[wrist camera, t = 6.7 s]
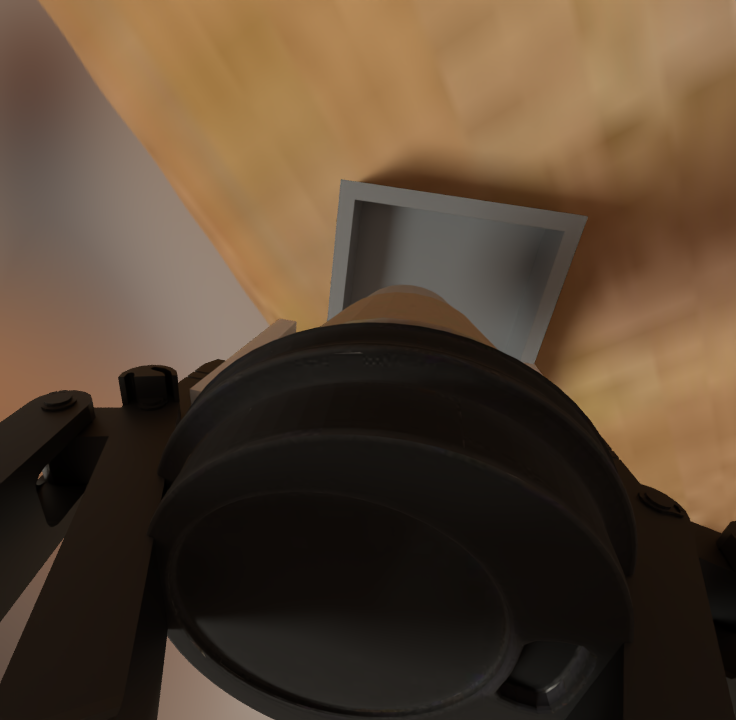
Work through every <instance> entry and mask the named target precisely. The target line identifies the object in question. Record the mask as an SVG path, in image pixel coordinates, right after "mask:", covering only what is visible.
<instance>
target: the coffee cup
mask: <svg viewBox="0 0 736 720" xmlns="http://www.w3.org/2000/svg"><path fill="white" fill-rule="evenodd" d="M157 475H158V476H160V477H163V478H165V481H166V490H167V492H166V494H165V495H164V497H163V499H162V500H161V502H160V503H159V505H158V507H157V509H156V511H155V513H154V515H153V517H152V519H151V521H150V524H149V527H148V530H147V533H146V535H147V536H149V537H153V538H154V542H155V549H156V555H157V562H158V568H159V575H160V581H161V588H162V594H163V601H164V607H165V614H166V620H167V627H168V632H167V636H168V638H169V639H170V641H171V642H172V643H173V644H174V645H175V647H176V648H177V649H178V650H179V652H180V653H181V654H182V655H183V656H184V657H185V658H186V659H187V660H188V661H189V662H190V663H191V664H192V665H193V666H194V667H195V668H196V669H197V670H198V671H199V672H201V673H202V674H203V675H204V676H205V677H207V678H208V679H209V680H210V681H211V682H213V683H214V684H215V685H217V686H218V687H219V688H221V689H222V690H224V691H225V692H226V693H228V694H229V695H231V696H233V697H234V698H236V699H237V700H239V701H241V702H242V703H244V704H246V705H247V706H249V707H251V708H252V709H254V710H256V711H258V712H260V713H262V714H264V715H266V716H268V717H270V718H272V719H275V720H565V719H566V718H567V716H568V715H569V714H570V712H571V711H572V710H573V708H574V707H575V706H576V704H577V703H578V702H579V701H580V699H581V698H582V697H583V695H584V694H585V693H586V691H587V690H588V689H589V687H590V686H591V685H592V683H593V682H594V681H595V679H596V678H597V677H598V676H599V674H600V673H601V672H602V670H603V669H604V668H605V666H606V665H607V664H608V662H609V661H610V660H611V658H612V657H613V656H614V655H615V653H616V652H617V651H618V649H619V648H620V647H621V645H622V644H623V643H624V642H627V643H632V642H633V640H634V615H633V605H632V599H631V595H630V591H629V587H628V584H627V581H626V578H625V575H628V576H630V575H633V574H634V573H635V568H636V563H637V549H638V539H637V528H636V521H635V517H634V512H633V508H632V504H631V502H630V499H629V496H628V494H627V491H626V488H625V486H624V484H623V482H622V480H621V478H620V477H619V475H618V472H617V469H616V466H615V464H614V461H613V458H612V456H611V454H610V452H609V450H608V448H607V446H606V444H605V442H604V440H603V439H602V437H601V435H600V434H599V432H598V431H597V430H596V428H595V427H594V425H593V424H592V422H591V421H590V419H589V418H588V417H587V416H586V415H585V414H584V412H583V411H582V410H581V409H580V408H579V407H578V406H577V404H576V403H575V402H574V401H573V400H572V399H570V398H569V397H568V396H567V395H566V394H565V393H564V392H563V391H562V390H561V389H560V388H559V387H557V386H556V385H555V384H553V383H552V382H551V381H549V380H548V379H547V378H545V377H544V376H543V375H542V374H540V373H539V372H537V371H536V370H534V369H532V368H531V367H529V366H528V365H526V364H524V363H523V362H521V361H520V360H518V359H516V358H514V357H512V356H510V355H508V354H506V353H504V352H502V351H500V350H498V349H497V348H496V347H495V346H494V345H493V344H492V343H491V342H490V341H489V340H488V339H487V338H486V337H485V336H484V335H483V334H482V333H481V332H480V331H479V330H478V329H477V328H476V327H475V326H474V325H473V324H472V323H471V321H470V320H469V319H468V318H467V317H466V316H465V315H464V314H462V313H461V312H459V311H458V310H456V309H455V308H453V307H452V306H450V305H449V304H448V303H447V302H446V301H445V300H444V299H443V298H442V297H440V296H439V295H437V294H436V293H435V292H432V291H430V290H428V289H425V288H422V287H418V286H414V285H394V286H388V287H385V288H382V289H379V290H378V291H376V292H374V293H372V294H371V295H369V296H368V297H367V298H363V299H361V300H359V301H357V302H356V303H354V304H352V305H350V306H349V307H347V308H346V309H344V310H343V311H341V312H340V313H339V314H337V315H336V316H334V317H333V318H332V319H330V320H329V321H327V322H326V323H325V324H323V325H322V326H320V327H317V328H313V329H309V330H305V331H301V332H297V333H293V334H290V335H287V336H284V337H282V338H279V339H276V340H273V341H271V342H269V343H267V344H264V345H262V346H260V347H258V348H256V349H254V350H252V351H250V352H249V353H247V354H245V355H244V356H242V357H240V358H239V359H237V360H235V361H234V362H233V363H231V364H230V365H229V366H228V367H226V368H225V369H224V370H222V371H221V372H220V373H219V374H218V375H217V376H216V377H215V378H213V379H212V380H211V381H210V382H209V383H208V384H207V385H206V387H205V388H204V389H203V390H202V391H201V393H200V394H199V395H198V396H197V397H196V399H195V400H194V402H193V403H192V405H191V407H190V408H189V410H188V411H187V413H186V415H185V416H184V417H183V419H182V420H181V421H180V422H179V424H178V425H177V427H176V428H175V430H174V431H173V433H172V434H171V436H170V438H169V440H168V442H167V444H166V446H165V448H164V450H163V453H162V456H161V459H160V462H159V465H158V469H157Z"/></svg>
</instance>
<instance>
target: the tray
mask: <svg viewBox="0 0 736 720" xmlns="http://www.w3.org/2000/svg"><path fill="white" fill-rule="evenodd" d="M587 218H588V216H583V215H576V214H570V213H563V212H556V211H549V210H543V209H536V208H529V207H523V206H516V205H509V204H503V203H496V202H489V201H483V200H476V199H469V198H463V197H456V196H449V195H442V194H436V193H429V192H422V191H416V190H409V189H402V188H396V187H389V186H382V185H376V184H369V183H362V182H356V181H349V180H342V179H341V184H340V194H339V205H338V215H337V226H336V236H335V246H334V257H333V267H332V277H331V288H330V298H329V309H328V319H327V321H329V320H330V319H332V318H333V317H334V316H336V315H337V314H339V313H340V312H341V311H343V310H344V309H346V308H347V307H349V306H350V305H352V304H354V303H356V302H357V301H359V300H361V299H363V298H367V297H368V296H369V295H371V294H372V293H374V292H376V291H378V290H379V289H382V288H385V287H388V286H394V285H414V286H418V287H422V288H425V289H428V290H430V291H432V292H435V293H436V294H437V295H439V296H440V297H442V298H443V299H444V300H445V301H446V302H447V303H448V304H449V305H450V306H452V307H453V308H455V309H456V310H458V311H459V312H461V313H462V314H464V315H465V316H466V317H467V318H468V319H469V320H470V321H471V323H472V324H473V325H474V326H475V327H476V328H477V329H478V330H479V331H480V332H481V333H482V334H483V335H484V336H485V337H486V338H487V339H488V340H489V341H490V342H491V343H492V344H493V345H494V346H495V347H496V348H497V349H498V350H500V351H502V352H504V353H506V354H508V355H510V356H512V357H514V358H516V359H518V360H520V361H521V362H524V363H530V364H534V363H535V360H536V357H537V354H538V352H539V349H540V346H541V343H542V341H543V338H544V335H545V333H546V330H547V327H548V324H549V322H550V319H551V316H552V314H553V311H554V308H555V305H556V303H557V300H558V297H559V294H560V292H561V289H562V286H563V284H564V281H565V278H566V275H567V273H568V270H569V267H570V264H571V262H572V259H573V256H574V254H575V251H576V248H577V245H578V243H579V240H580V237H581V235H582V232H583V229H584V226H585V224H586V221H587Z"/></svg>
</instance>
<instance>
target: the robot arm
mask: <svg viewBox="0 0 736 720" xmlns="http://www.w3.org/2000/svg"><path fill="white" fill-rule="evenodd" d="M293 333H296V321H290V320H285V319H278V320H277V321H276V322H275V323H273V324H272V325H271V326H269V327H268V328H267V329H266V330H265V331H263V332H262V333H261V334H259V335H258V336H257V337H255V338H254V339H253V340H252V341H250V342H249V343H248V344H247V345H245V346H244V347H243V348H241V349H240V350H239V351H238V352H236V353H235V354H234V355H233V356H231V357H230V358H229V359H227V360H226V361H225V360H220V359H217V360H214V361H211V362H208V363H205V364H204V365H202V366H201V367H199V368H198V369H197V370H195V372H193V373H191V374H190V375H188V377H186V378H184V379H183V380H181V381H180V382H179V383H178V377H177V372H176V370H174V369H173V368H171V367H167V366H162V365H148V366H140V367H136V368H132V369H130V370H127V371H125V372H123V373H122V374H121V375H120V376H119V377H118V379H119V385H120V391H121V397H122V403H123V406H122V407H121V408H94V407H93V402H92V398H91V395H90V394H88V393H86V392H82V391H76V390H73V391H67V390H63V391H59V392H57V391H56V392H52V393H49V394H47V395H43V396H40V397H38V398H36V399H34V400H32V401H30V402H29V403H27V404H26V405H24V406H23V407H22V408H20V409H19V410H17V411H16V412H14V413H13V414H12V415H10V416H9V417H7V418H6V419H5V420H3V421H2V422H0V622H1V620H2V619H3V618H4V616H5V615H6V614H7V612H8V611H9V610H10V608H11V607H12V606H13V604H14V603H15V602H16V600H17V599H18V598H19V596H20V595H21V594H22V592H23V591H24V590H25V588H26V587H27V586H28V585H29V583H30V582H31V581H32V579H33V578H34V577H35V575H36V574H37V573H38V571H39V570H40V569H41V567H42V566H43V565H44V563H45V562H46V561H47V559H48V558H49V557H50V555H51V554H52V553H53V551H54V550H55V549H56V547H57V546H58V545H59V543H60V542H61V541H62V540H63V538H64V540H63V542H62V545H61V547H60V549H59V551H58V554H57V556H56V558H55V560H54V563H53V565H52V567H51V570H50V572H49V574H48V576H47V578H46V581H45V583H44V585H43V588H42V590H41V592H40V595H39V597H38V599H37V601H36V603H35V606H34V608H33V610H32V613H31V615H30V617H29V619H28V621H27V624H26V626H25V628H24V631H23V633H22V635H21V638H20V640H19V642H18V644H17V647H16V649H15V651H14V653H13V656H12V658H11V660H10V663H9V665H8V667H7V669H6V672H5V674H4V676H3V678H2V680H1V683H0V720H157V715H158V707H159V698H160V690H161V682H162V674H163V665H164V657H165V649H166V641H167V640H166V639H167V632H168V627H167V620H166V614H165V607H164V601H163V594H162V588H161V581H160V575H159V568H158V562H157V555H156V549H155V542H154V538H153V537H149V536H147V535H146V533H147V530H148V527H149V524H150V521H151V519H152V517H153V515H154V513H155V511H156V509H157V507H158V505H159V503H160V502H161V500H162V499H163V497H164V495H165V494H166V492H167V490H166V481H165V478H163V477H160V476H158V475H157V469H158V465H159V462H160V459H161V456H162V453H163V450H164V448H165V446H166V444H167V442H168V440H169V438H170V436H171V434H172V433H173V431H174V430H175V428H176V427H177V425H178V424H179V422H180V421H181V420H182V419H183V417H184V416H185V415H186V413H187V411H188V410H189V408H190V407H191V405H192V403H193V402H194V400H195V399H196V397H197V396H198V395H199V394H200V393H201V391H202V390H203V389H204V388H205V387H206V385H207V384H208V383H209V382H210V381H211V380H212V379H213V378H215V377H216V376H217V375H218V374H219V373H220V372H221V371H222V370H224V369H225V368H226V367H228V366H229V365H230V364H231V363H233V362H234V361H235V360H237V359H239V358H240V357H242V356H244V355H245V354H247V353H249V352H250V351H252V350H254V349H256V348H258V347H260V346H262V345H264V344H267V343H269V342H271V341H273V340H276V339H279V338H282V337H284V336H287V335H290V334H293ZM523 363H524V362H523ZM524 364H526V365H528V366H529V367H531V368H532V369H534V370H536V371H537V372H539V373H540V374H542V373H541V372H540V370H539V369H538V368H537V367H536V365H535V364H530V363H524ZM542 375H543V374H542ZM602 439H603V438H602ZM603 440H604V439H603ZM604 442H605V444H606V446H607V448H608V450H609V452H610V454H611V456H612V458H613V461H614V464H615V466H616V469H617V472H618V475H619V477H620V478H621V480H622V482H623V484H624V486H625V488H626V491H627V494H628V496H629V499H630V502H631V504H632V508H633V512H634V517H635V521H636V528H637V539H638V549H637V563H636V568H635V573H634V574H633V575H630V576H628V575H625V578H626V581H627V584H628V587H629V591H630V595H631V599H632V605H633V615H634V640H633V642H632V643H627V642H624V643H623V644H622V645H621V647H620V648H619V649H618V651H617V652H616V653H615V655H614V656H613V657H612V658H611V660H610V661H609V662H608V664H607V665H606V666H605V668H604V669H603V670H602V672H601V673H600V674H599V676H598V677H597V678H596V679H595V681H594V682H593V683H592V685H591V686H590V687H589V689H588V690H587V691H586V693H585V694H584V695H583V697H582V698H581V699H580V701H579V702H578V703H577V704H576V706H575V707H574V708H573V710H572V711H571V712H570V714H569V715H568V716H567V718H566V719H565V720H736V521H732V522H730V523H729V525H728V526H727V527H726V529H725V530H724V531H723V532H722V533H719V532H717V531H714V530H712V529H709V528H707V527H704V526H701V525H699V524H696V523H694V522H691V521H690V518H689V516H688V514H687V513H686V511H685V510H684V509H683V508H682V507H681V506H680V505H679V504H678V503H677V502H676V501H674V500H673V499H672V498H670V497H669V496H667V495H666V494H664V493H662V492H660V491H658V490H656V489H654V488H651V487H648V486H645V485H642V484H640V483H639V482H638V481H637V479H636V478H635V477H634V476H633V474H632V473H631V472H630V471H629V470H628V468H627V467H626V466H625V465H624V463H623V462H622V461H621V460H619V457H618V456H617V455H616V454H615V452H614V451H612V449H611V447H610V446H609V445H608V444H607V443H606V441H605V440H604ZM41 471H42V472H43V475H42V476H41V477H40V478H39V479H38V477H39V474H40V473H41Z"/></svg>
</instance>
